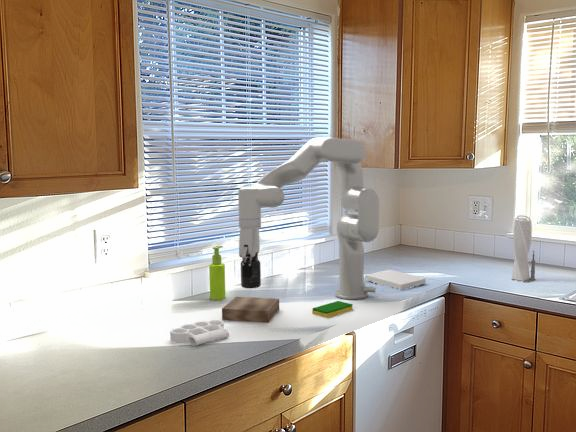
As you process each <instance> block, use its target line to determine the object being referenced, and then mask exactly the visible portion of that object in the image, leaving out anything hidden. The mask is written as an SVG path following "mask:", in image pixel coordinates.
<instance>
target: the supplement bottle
mask: <svg viewBox="0 0 576 432" xmlns="http://www.w3.org/2000/svg"><path fill="white" fill-rule="evenodd" d="M247 256H250V255H247ZM248 260H249V259H248ZM242 263H243V261H242V260H241V261H240V285H241V288H244V289H257V288H260V287H261V285H262V278H261V275H262V274H261V273H262V272H261V271H262V269H261V267H262V266H261V261H260V259H259V258H258V259H257V252H256V255H255V256H254V257H252V262H251V266H252V277H243V265H242Z"/></svg>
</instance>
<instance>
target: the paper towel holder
mask: <svg viewBox="0 0 576 432" xmlns="http://www.w3.org/2000/svg"><path fill="white" fill-rule="evenodd" d="M532 226H533V225H532V220H531V218H530V217H529V216H527V215H521V214H520V215H517V216H516V217H515V218H514V224H513V230H512V232H513V234H512V237H513V238H512V241H513V242H512V243H513V251H514V261H513V267H512V274H511V280H512V281H515V280H517V281H516V282H521V281H523V282H522V283H527V282H528V283H530V281H531V282H533V281H534V282H535V281H536V280H537V279H536V276H535V275H536V274H535V273H536V270H535V269H536V266H535V265H536V260H535V250H532V260H531V261H530V262H529V257H528V256H529V252H530V248H531V244H532V235H533V233H532V232H533V230H532ZM529 263H531V264H530V265H531V267H530V265H529Z"/></svg>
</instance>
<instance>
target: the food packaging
mask: <svg viewBox="0 0 576 432" xmlns="http://www.w3.org/2000/svg"><path fill="white" fill-rule="evenodd" d="M365 279H366V280H368V281H371V283H372V282H373V283H374V284H375V283H377V284H376V285H378V284H381V285H385V286H389V287H393V288H396V289H395V290H398V289H400V290H399V291H403V290H402V289H405V290H407V289H406V288H409V289H411V288H410V287H413V286H417V285H419V286H421V285H424V284H426V277H425V278H424V277H420V276H416V275H412V274H408V273H404V272H402V271H396V270H393V269H386V270H381V271H377V272H373V273H368V274H364V280H365ZM373 283H372V284H373ZM381 285H380V286H381ZM385 286H384V287H385ZM389 287H388V288H389ZM393 288H392V289H393ZM413 288H414V287H413Z"/></svg>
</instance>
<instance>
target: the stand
mask: <svg viewBox="0 0 576 432" xmlns="http://www.w3.org/2000/svg"><path fill="white" fill-rule="evenodd" d="M279 311H280V298H274V297H273V298H272V297H251V296H250V297H249V296H235V297H234V298H233V299H231V301H229V302H228V303H227V304H225V306H224V307H222V308H221V321H229V322H232V321H233V322H246V323H247V322H249V323H263V324H264V323H268V324H269V322H270V321H271V320H272V319H273V318H274V317H275V315H276V314H277V313H278V312H279Z"/></svg>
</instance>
